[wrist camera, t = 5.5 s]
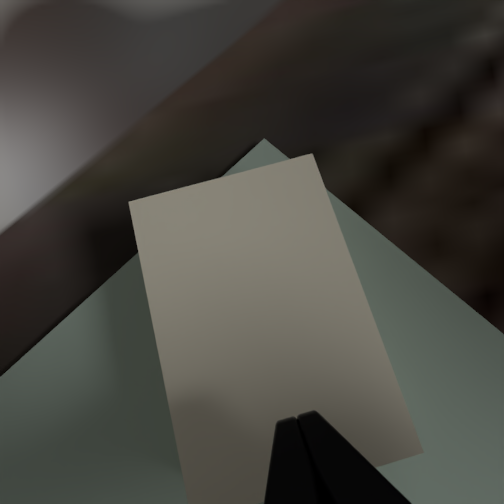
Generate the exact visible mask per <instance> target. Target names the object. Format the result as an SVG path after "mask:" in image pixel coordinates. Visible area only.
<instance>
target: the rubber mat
mask: <svg viewBox="0 0 504 504" xmlns="http://www.w3.org/2000/svg"><path fill="white" fill-rule="evenodd" d="M285 160H289V158H288V157H286V156H285V155H284V154H283V153H281V152H280V151H279V150H278V149H277V148H275V147H274V146H273V145H272V144H270V143H269V142H268V141H267V140H266V139H263V140H262V141H261V142H260V143H259V144H258V145H256V146H255V147H254V148H253V149H252V150H251V151H250V152H249V153H248V154H247V155H245V156H244V157H243V158H242V159H241V160H240V161H239V162H238V163H237V164H235V165H234V166H233V167H232V168H231V169H230V170H229V171H228V172H227V173H225V174H224V175H223V176H222V177H225V176H228V175H232V174H236V173H240V172H244V171H247V170H251V169H255V168H259V167H263V166H266V165H270V164H274V163H278V162H281V161H285ZM326 191H327V194H328V197H329V199H330V202H331V205H332V207H333V210H334V213H335V216H336V218H337V221H338V224H339V226H340V229H341V232H342V234H343V237H344V240H345V242H346V245H347V248H348V250H349V253H350V256H351V258H352V261H353V264H354V266H355V269H356V272H357V274H358V277H359V280H360V282H361V285H362V288H363V291H364V293H365V296H366V299H367V301H368V304H369V307H370V309H371V312H372V315H373V317H374V320H375V323H376V325H377V328H378V331H379V333H380V336H381V339H382V341H383V344H384V347H385V349H386V352H387V355H388V358H389V360H390V363H391V366H392V368H393V371H394V374H395V376H396V379H397V382H398V384H399V387H400V390H401V392H402V395H403V398H404V400H405V403H406V406H407V408H408V411H409V414H410V416H411V419H412V422H413V424H414V427H415V430H416V433H417V435H418V438H419V441H420V443H421V446H422V449H423V451H424V453H422V454H419V455H415V456H412V457H409V458H406V459H402V460H399V461H396V462H392V463H389V464H386V465H383V466H379V467H376V469H377V470H378V471H379V472H380V473H381V474H382V475H383V476H384V477H385V478H386V479H387V480H388V481H389V482H390V483H391V484H392V485H393V486H394V487H395V488H396V489H398V490H399V491H400V492H401V493H402V494H403V495H404V496H405V497H406V498H407V499H408V500H409V501H410V502H411V503H412V504H504V334H503V333H502V332H500V331H499V330H498V329H497V328H495V327H494V326H493V325H492V324H491V323H489V322H488V321H487V320H486V319H484V318H483V317H482V316H481V315H480V314H478V313H477V312H476V311H475V310H473V309H472V308H471V307H470V306H469V305H467V304H466V303H465V302H464V301H462V300H461V299H460V298H459V297H458V296H456V295H455V294H454V293H453V292H451V291H450V290H449V289H448V288H447V287H445V286H444V285H443V284H442V283H440V282H439V281H438V280H437V279H436V278H434V277H433V276H432V275H431V274H429V273H428V272H427V271H426V270H425V269H423V268H422V267H421V266H420V265H418V264H417V263H416V262H415V261H414V260H412V259H411V258H410V257H409V256H407V255H406V254H405V253H404V252H403V251H401V250H400V249H399V248H398V247H396V246H395V245H394V244H393V243H392V242H390V241H389V240H388V239H387V238H385V237H384V236H383V235H382V234H381V233H379V232H378V231H377V230H376V229H374V228H373V227H372V226H371V225H370V224H368V223H367V222H366V221H365V220H363V219H362V218H361V217H360V216H359V215H357V214H356V213H355V212H354V211H352V210H351V209H350V208H349V207H348V206H346V205H345V204H344V203H343V202H341V201H340V200H339V199H338V198H337V197H335V196H334V195H333V194H332V193H330V192H329V191H328V190H327V189H326ZM0 504H188V501H187V496H186V491H185V485H184V480H183V475H182V470H181V465H180V460H179V455H178V450H177V445H176V440H175V435H174V430H173V425H172V420H171V415H170V410H169V404H168V399H167V394H166V389H165V384H164V379H163V374H162V369H161V364H160V359H159V354H158V349H157V344H156V339H155V334H154V329H153V323H152V318H151V313H150V308H149V303H148V298H147V293H146V288H145V283H144V278H143V273H142V268H141V263H140V258H139V253H137V254H136V255H135V256H134V257H133V258H131V259H130V260H129V261H128V262H127V263H126V264H125V265H124V266H123V267H122V268H120V269H119V270H118V271H117V272H116V273H115V274H114V275H113V276H112V277H110V278H109V279H108V280H107V281H106V282H105V283H104V284H103V285H102V286H101V287H99V288H98V289H97V290H96V291H95V292H94V293H93V294H92V295H91V296H89V297H88V298H87V299H86V300H85V301H84V302H83V303H82V304H81V305H79V306H78V307H77V308H76V309H75V310H74V311H73V312H72V313H71V314H70V315H68V316H67V317H66V318H65V319H64V320H63V321H62V322H61V323H60V324H58V325H57V326H56V327H55V328H54V329H53V330H52V331H51V332H50V333H49V334H47V335H46V336H45V337H44V338H43V339H42V340H41V341H40V342H39V343H37V344H36V345H35V346H34V347H33V348H32V349H31V350H30V351H29V352H28V353H26V354H25V355H24V356H23V357H22V358H21V359H20V360H19V361H18V362H16V363H15V364H14V365H13V366H12V367H11V368H10V369H9V370H8V371H6V372H5V373H4V374H3V375H2V376H1V377H0ZM258 504H264V502H261V503H258Z"/></svg>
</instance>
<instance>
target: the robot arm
mask: <svg viewBox="0 0 504 504" xmlns="http://www.w3.org/2000/svg"><path fill="white" fill-rule="evenodd" d="M264 504H412V503H411V502H410V501H409V500H408V499H407V498H406V497H405V496H404V495H403V494H402V493H401V492H400V491H399V490H398V489H396V488H395V487H394V486H393V485H392V484H391V483H390V482H389V481H388V480H387V479H386V478H385V477H384V476H383V475H382V474H381V473H380V472H379V471H378V470H377V469H376V468H375V467H374V466H373V465H372V464H371V463H370V462H369V461H368V460H367V459H366V458H365V457H364V456H363V455H362V454H361V453H360V452H359V451H358V450H357V449H356V448H354V447H353V446H352V445H351V444H350V443H349V442H348V441H347V440H346V439H345V438H344V437H343V436H342V435H341V434H340V433H339V432H338V431H337V430H336V429H335V428H334V427H333V426H332V425H331V424H330V423H329V422H328V421H327V420H326V419H325V418H324V417H323V416H322V415H321V414H320V413H319V412H317V411H315V410H312V411H308V412H305V413H302V414H299V415H298V416H297V419H296V417H294V416H291V417H288V418H285V419H281V420H278V421H277V422H276V425H275V431H274V437H273V444H272V451H271V458H270V464H269V471H268V478H267V484H266V491H265V498H264Z"/></svg>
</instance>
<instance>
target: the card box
mask: <svg viewBox="0 0 504 504" xmlns="http://www.w3.org/2000/svg"><path fill="white" fill-rule="evenodd" d="M129 207H130V212H131V217H132V222H133V227H134V232H135V237H136V242H137V248H138V253H139V258H140V263H141V268H142V273H143V278H144V283H145V288H146V293H147V298H148V303H149V308H150V313H151V318H152V323H153V329H154V334H155V339H156V344H157V349H158V354H159V359H160V364H161V369H162V374H163V379H164V384H165V389H166V394H167V399H168V404H169V410H170V415H171V420H172V425H173V430H174V435H175V440H176V445H177V450H178V455H179V460H180V465H181V470H182V475H183V480H184V485H185V491H186V496H187V501H188V504H258V503H261V502H264V498H265V491H266V484H267V478H268V471H269V464H270V458H271V451H272V444H273V437H274V431H275V425H276V422H277V421H278V420H281V419H285V418H288V417H291V416H294V417H296V419H297V416H298V415H299V414H302V413H305V412H308V411H312V410H315V411H317V412H319V413H320V414H321V415H322V416H323V417H324V418H325V419H326V420H327V421H328V422H329V423H330V424H331V425H332V426H333V427H334V428H335V429H336V430H337V431H338V432H339V433H340V434H341V435H342V436H343V437H344V438H345V439H346V440H347V441H348V442H349V443H350V444H351V445H352V446H353V447H354V448H356V449H357V450H358V451H359V452H360V453H361V454H362V455H363V456H364V457H365V458H366V459H367V460H368V461H369V462H370V463H371V464H372V465H373V466H374V467H375V468H376V467H379V466H383V465H386V464H389V463H392V462H396V461H399V460H402V459H406V458H409V457H412V456H415V455H419V454H422V453H424V451H423V449H422V446H421V443H420V441H419V438H418V435H417V433H416V430H415V427H414V424H413V422H412V419H411V416H410V414H409V411H408V408H407V406H406V403H405V400H404V398H403V395H402V392H401V390H400V387H399V384H398V382H397V379H396V376H395V374H394V371H393V368H392V366H391V363H390V360H389V358H388V355H387V352H386V349H385V347H384V344H383V341H382V339H381V336H380V333H379V331H378V328H377V325H376V323H375V320H374V317H373V315H372V312H371V309H370V307H369V304H368V301H367V299H366V296H365V293H364V291H363V288H362V285H361V282H360V280H359V277H358V274H357V272H356V269H355V266H354V264H353V261H352V258H351V256H350V253H349V250H348V248H347V245H346V242H345V240H344V237H343V234H342V232H341V229H340V226H339V224H338V221H337V218H336V216H335V213H334V210H333V207H332V205H331V202H330V199H329V197H328V194H327V191H326V189H325V186H324V183H323V181H322V178H321V175H320V173H319V170H318V167H317V165H316V162H315V159H314V157H313V154H308V155H304V156H300V157H297V158H293V159H289V160H285V161H281V162H278V163H274V164H270V165H266V166H263V167H259V168H255V169H251V170H247V171H244V172H240V173H236V174H232V175H228V176H225V177H221V178H217V179H213V180H209V181H206V182H202V183H198V184H194V185H190V186H187V187H183V188H179V189H175V190H172V191H168V192H164V193H160V194H156V195H153V196H149V197H145V198H141V199H137V200H134V201H130V202H129Z"/></svg>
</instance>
